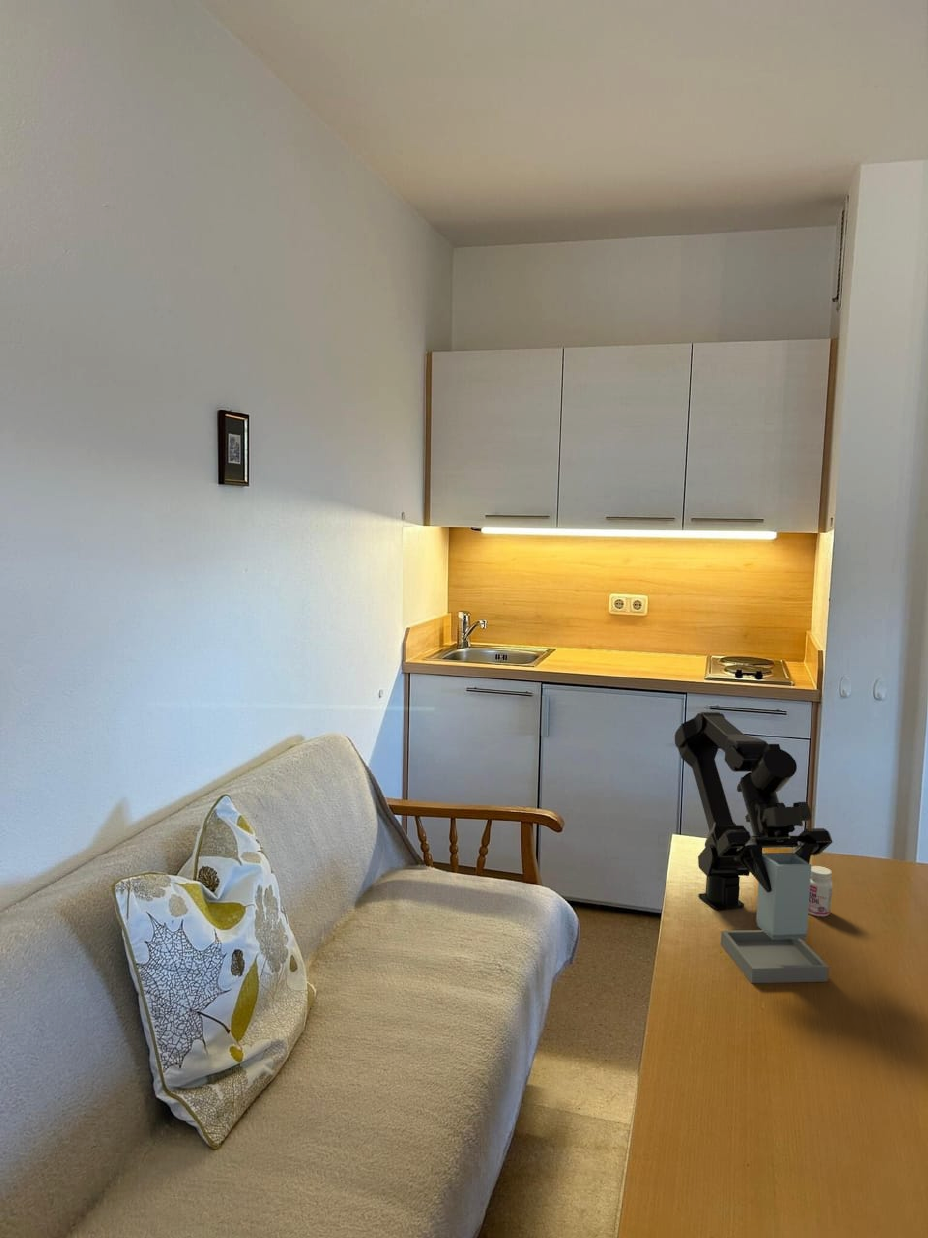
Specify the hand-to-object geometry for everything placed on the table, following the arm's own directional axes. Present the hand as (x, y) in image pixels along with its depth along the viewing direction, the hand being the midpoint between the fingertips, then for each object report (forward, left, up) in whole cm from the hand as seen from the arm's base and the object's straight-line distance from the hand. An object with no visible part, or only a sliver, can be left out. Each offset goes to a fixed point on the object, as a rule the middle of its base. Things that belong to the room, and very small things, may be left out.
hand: (787, 891), depth 150 cm
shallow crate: (-2, 0, -13) cm, 14 cm away
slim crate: (-1, 0, -8) cm, 8 cm away
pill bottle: (-16, +21, -14) cm, 30 cm away
